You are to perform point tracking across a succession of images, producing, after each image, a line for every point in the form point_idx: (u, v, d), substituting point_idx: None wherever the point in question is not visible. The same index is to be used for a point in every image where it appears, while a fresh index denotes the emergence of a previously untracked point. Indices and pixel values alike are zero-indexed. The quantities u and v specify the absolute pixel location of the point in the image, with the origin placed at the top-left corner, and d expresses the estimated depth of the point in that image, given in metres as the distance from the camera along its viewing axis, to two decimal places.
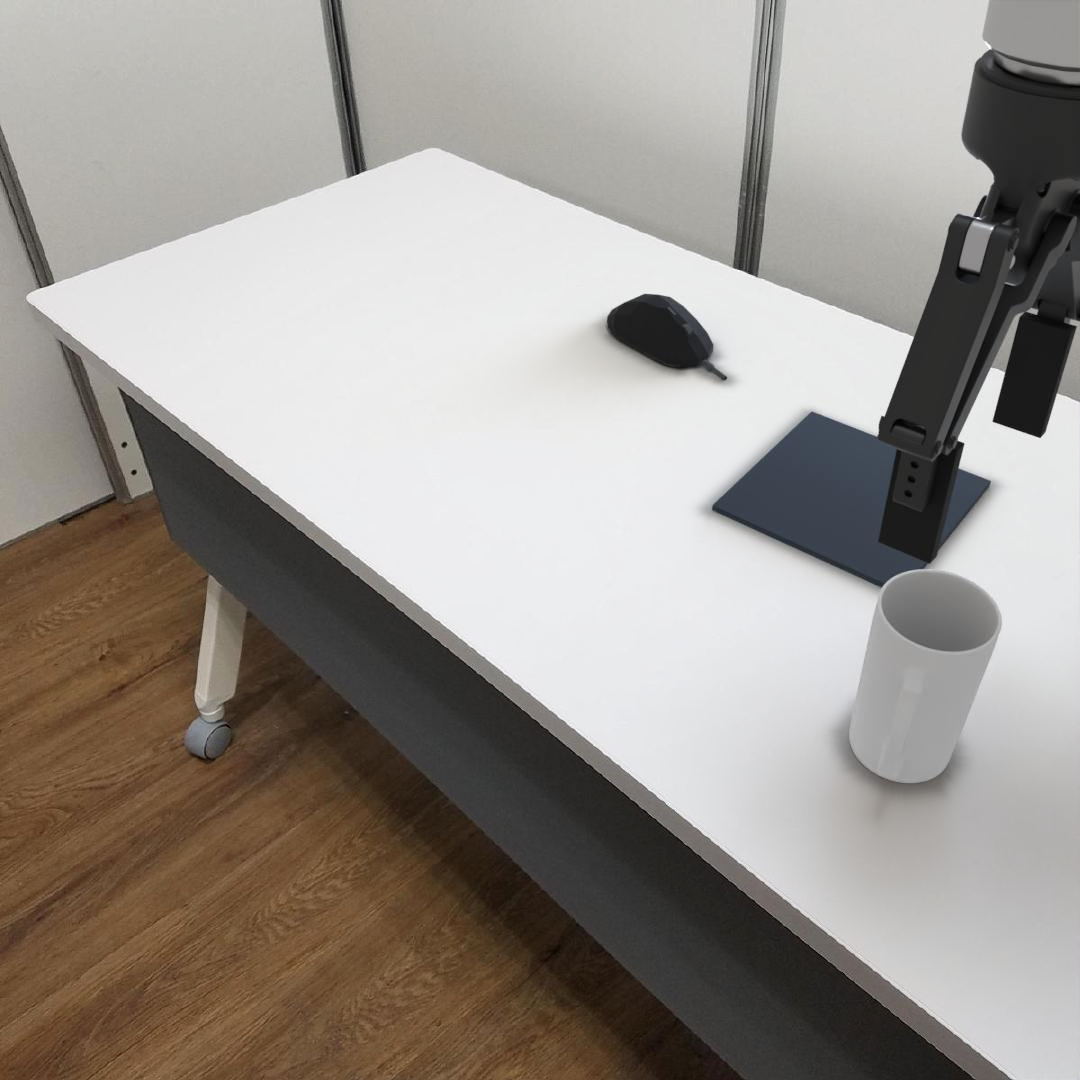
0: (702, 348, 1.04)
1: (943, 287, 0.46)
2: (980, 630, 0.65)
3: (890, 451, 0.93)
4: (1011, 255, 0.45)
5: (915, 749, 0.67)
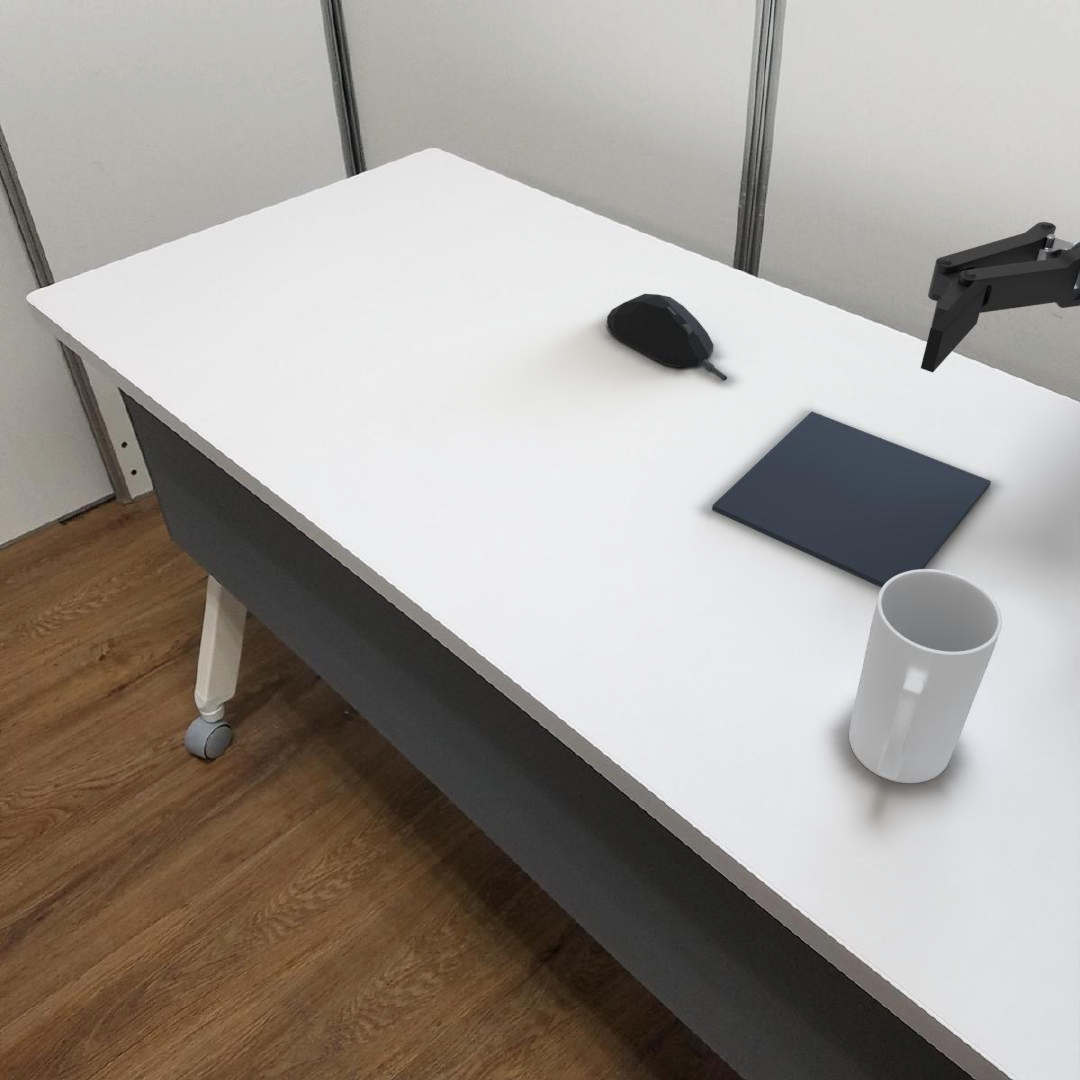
0: (702, 348, 1.04)
1: None
2: (980, 630, 0.65)
3: (890, 451, 0.93)
4: (1047, 231, 0.72)
5: (915, 749, 0.67)
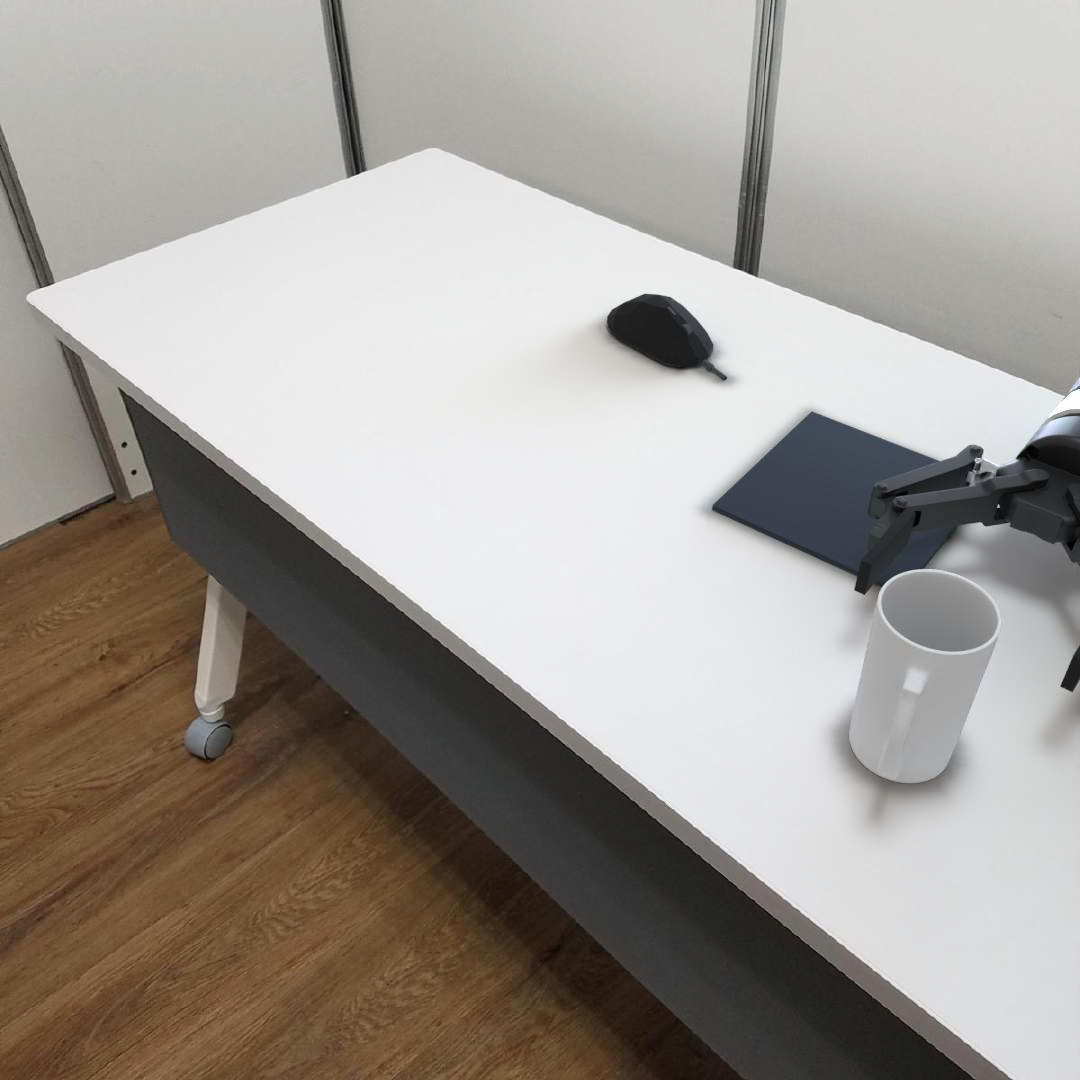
0: (701, 348, 1.04)
1: None
2: (980, 630, 0.65)
3: (890, 451, 0.93)
4: (975, 455, 0.81)
5: (915, 749, 0.67)
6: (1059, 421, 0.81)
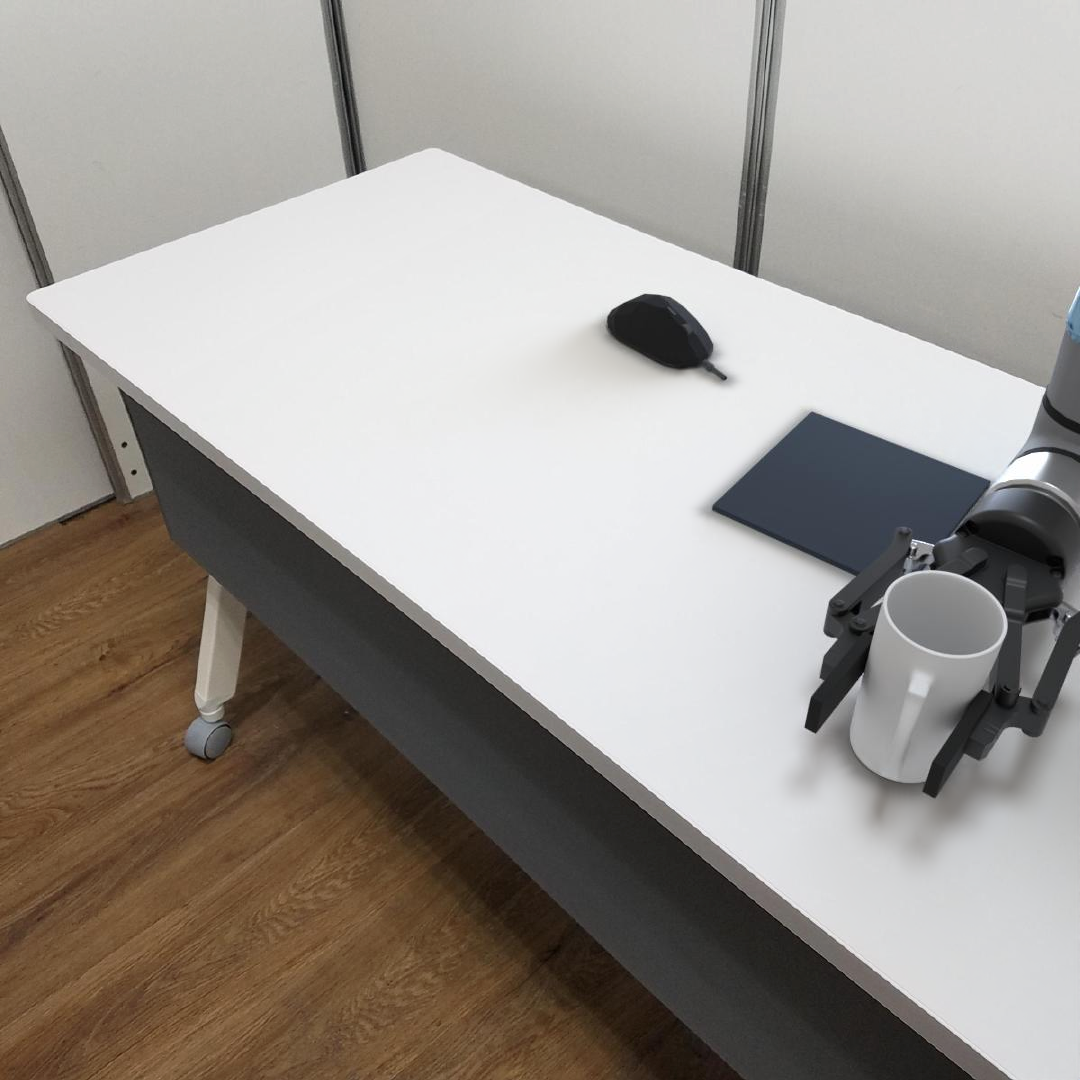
0: (701, 348, 1.04)
1: None
2: (985, 632, 0.65)
3: (890, 451, 0.93)
4: (908, 539, 0.74)
5: (917, 750, 0.67)
6: (1000, 494, 0.75)
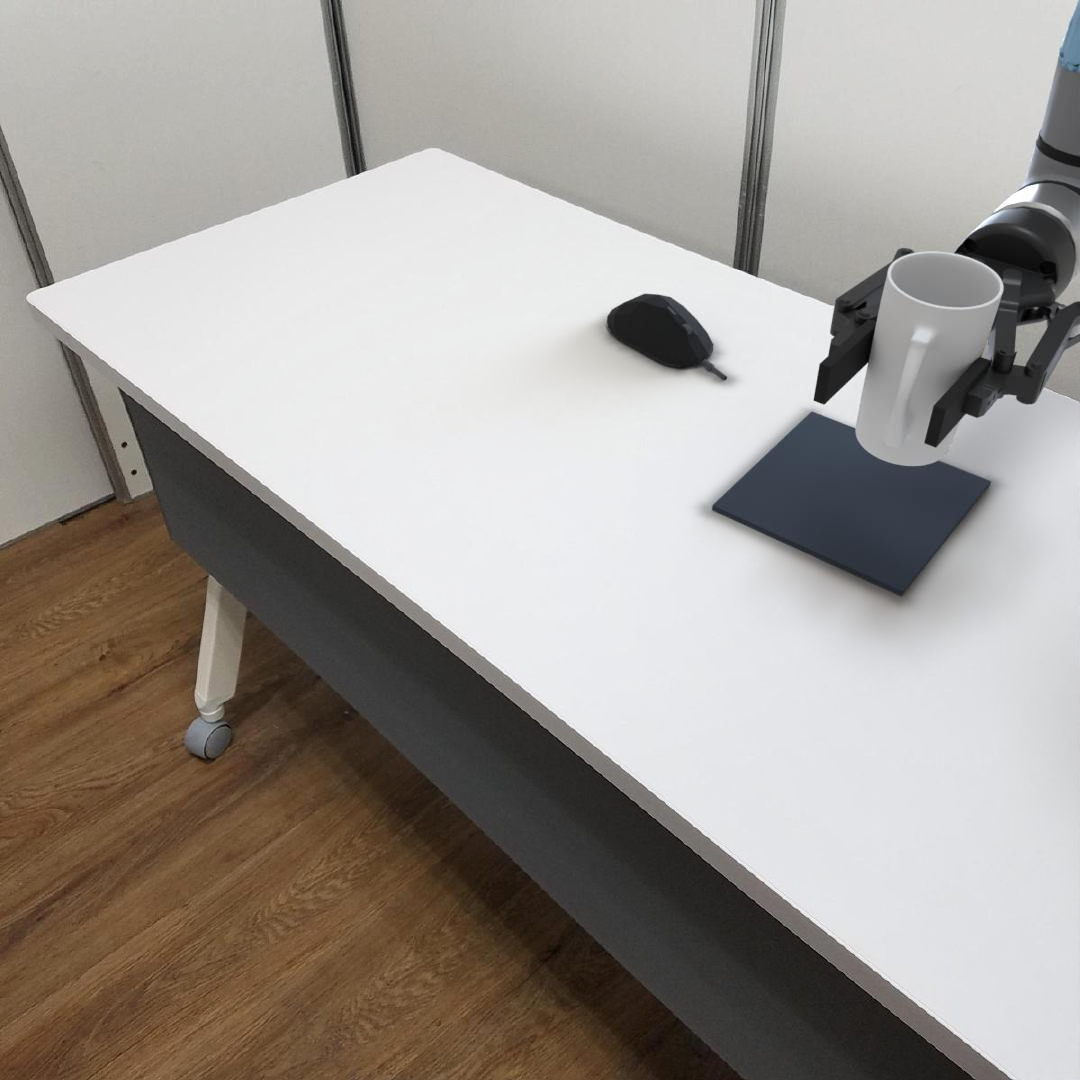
0: (701, 348, 1.04)
1: None
2: None
3: None
4: None
5: (919, 424, 0.71)
6: (996, 215, 0.79)
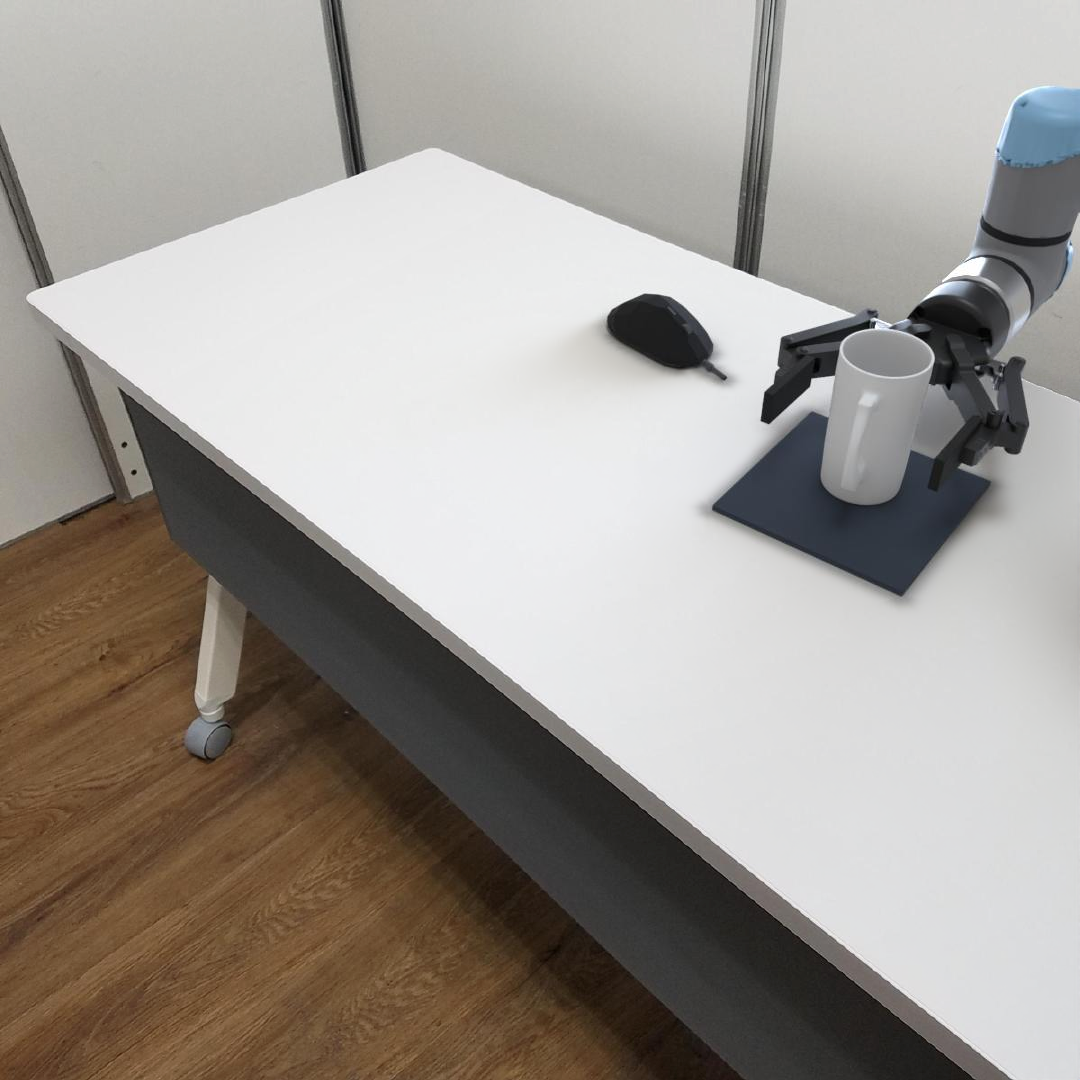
0: (701, 348, 1.04)
1: None
2: None
3: None
4: (871, 315, 0.94)
5: (870, 471, 0.86)
6: (943, 286, 0.94)
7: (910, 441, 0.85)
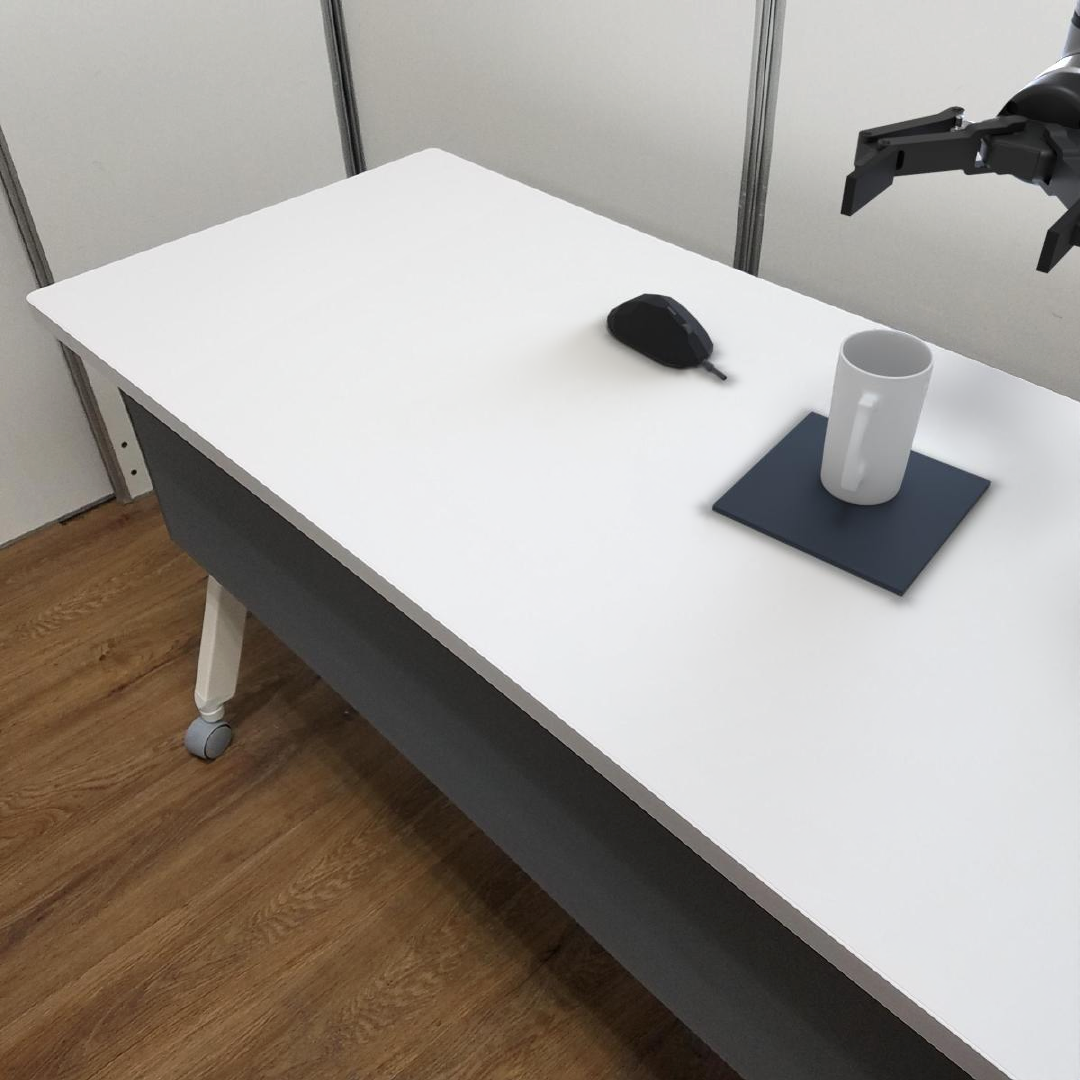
0: (701, 348, 1.04)
1: None
2: None
3: None
4: (957, 113, 0.85)
5: (870, 471, 0.86)
6: (1036, 79, 0.84)
7: (910, 441, 0.85)
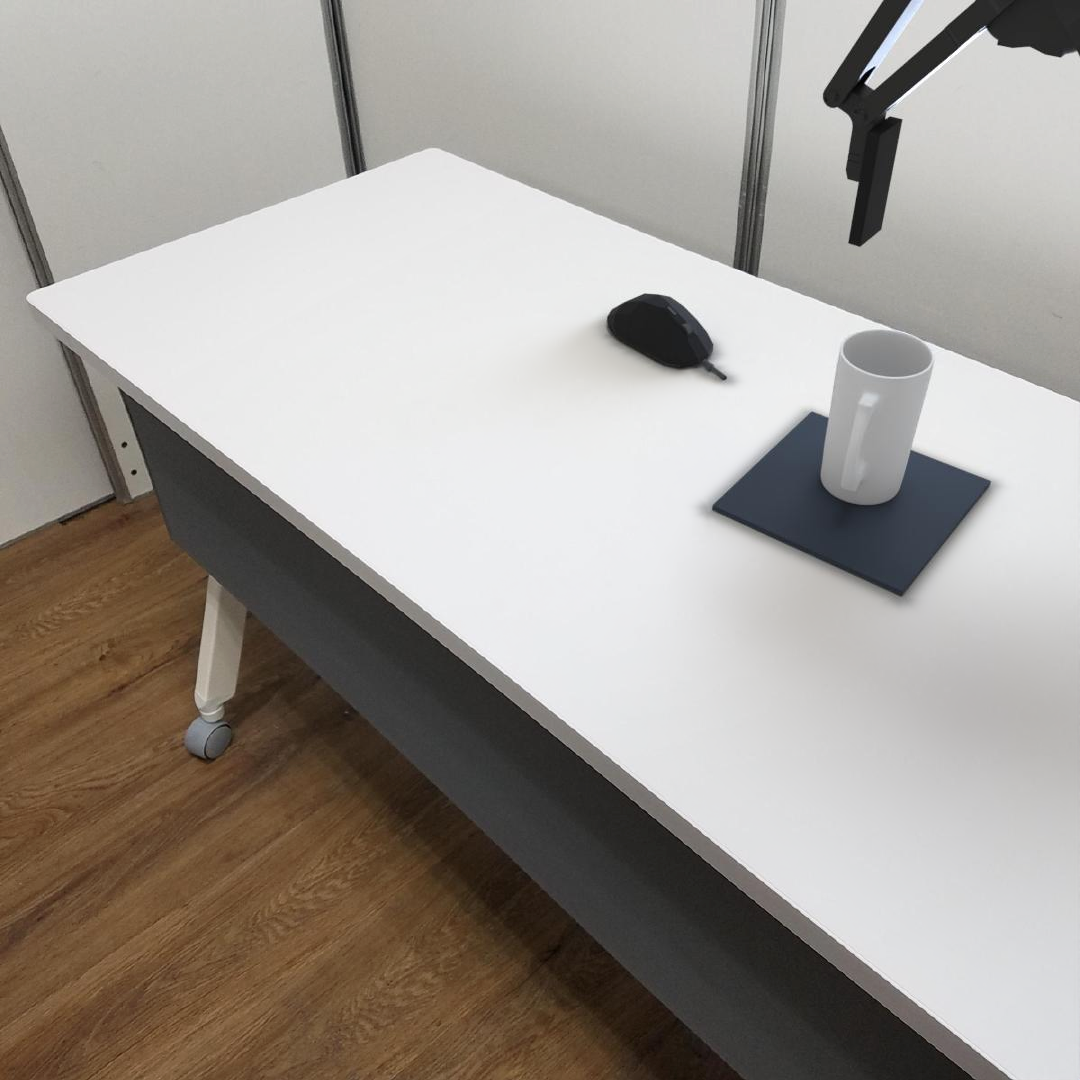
0: (701, 348, 1.04)
1: None
2: None
3: None
4: None
5: (870, 471, 0.86)
6: None
7: (910, 441, 0.85)
